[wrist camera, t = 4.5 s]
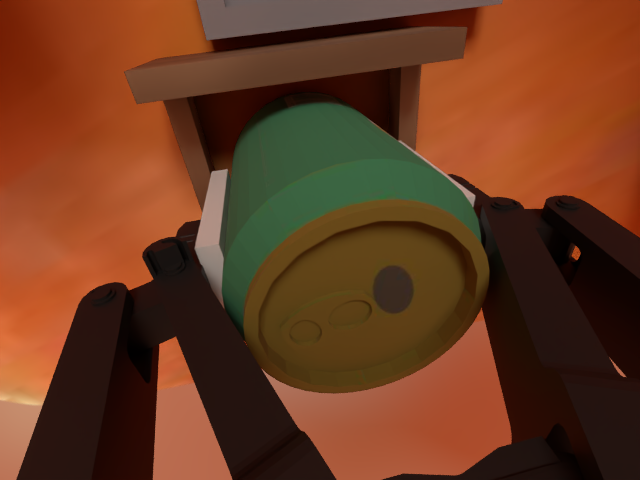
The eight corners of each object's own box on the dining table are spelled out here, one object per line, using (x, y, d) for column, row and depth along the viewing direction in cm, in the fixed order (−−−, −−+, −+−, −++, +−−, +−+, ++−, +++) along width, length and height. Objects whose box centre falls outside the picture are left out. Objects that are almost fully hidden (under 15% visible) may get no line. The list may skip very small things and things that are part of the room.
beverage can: (385, 194, 21) (511, 345, 11) (271, 242, 21) (293, 431, 11) (349, 61, 16) (509, 117, 6) (204, 126, 17) (144, 273, 7)
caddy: (157, 58, 15) (124, 71, 11) (410, 26, 16) (467, 26, 12) (226, 265, 21) (222, 321, 17) (400, 231, 23) (434, 276, 19)
